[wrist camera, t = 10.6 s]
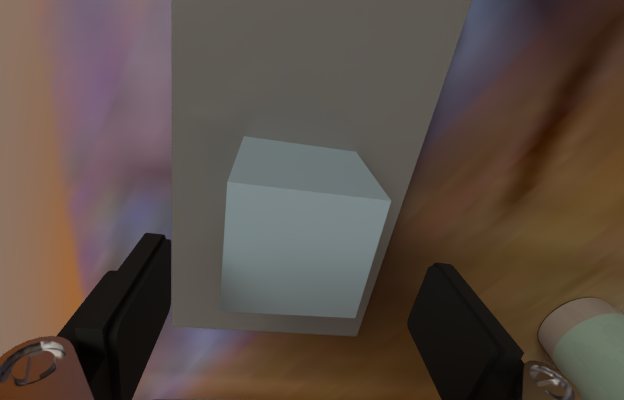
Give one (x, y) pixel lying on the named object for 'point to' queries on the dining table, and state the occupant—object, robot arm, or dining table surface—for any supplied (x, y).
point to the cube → (299, 230)
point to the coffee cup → (587, 347)
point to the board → (294, 117)
